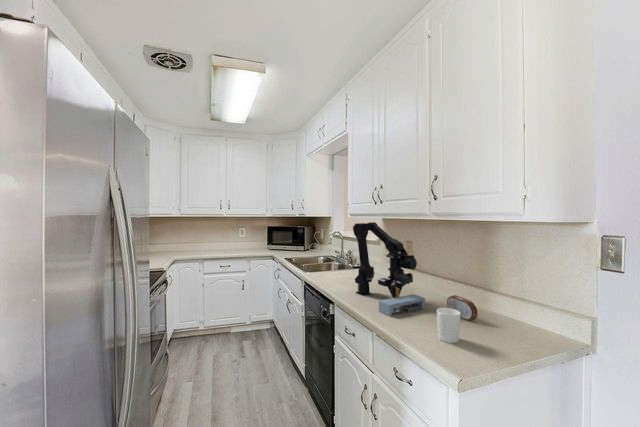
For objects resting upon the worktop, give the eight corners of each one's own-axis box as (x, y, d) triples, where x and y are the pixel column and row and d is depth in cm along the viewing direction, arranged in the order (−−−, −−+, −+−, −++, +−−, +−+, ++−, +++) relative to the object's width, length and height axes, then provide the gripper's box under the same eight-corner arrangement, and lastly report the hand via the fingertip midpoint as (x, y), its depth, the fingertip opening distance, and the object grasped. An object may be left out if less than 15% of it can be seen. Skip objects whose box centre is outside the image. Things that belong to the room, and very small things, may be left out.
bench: (378, 311, 133) (378, 300, 133) (413, 304, 144) (413, 294, 144) (389, 316, 127) (389, 304, 127) (424, 308, 138) (424, 297, 138)
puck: (389, 311, 134) (389, 308, 134) (395, 309, 136) (395, 306, 136) (395, 313, 131) (395, 310, 131) (402, 312, 133) (402, 309, 133)
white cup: (431, 336, 106) (431, 309, 106) (447, 333, 110) (447, 306, 110) (449, 345, 99) (449, 316, 99) (465, 341, 102) (465, 313, 102)
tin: (478, 322, 120) (478, 302, 120) (472, 323, 119) (472, 303, 119) (451, 311, 134) (451, 292, 134) (445, 311, 133) (445, 293, 133)
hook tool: (384, 302, 145) (384, 288, 145) (395, 300, 149) (395, 287, 149) (408, 312, 131) (408, 297, 131) (419, 310, 135) (419, 295, 135)
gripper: (392, 271, 135) (392, 304, 135) (421, 267, 144) (421, 298, 144) (377, 267, 145) (377, 298, 145) (404, 264, 154) (404, 293, 154)
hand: (395, 297), depth 147 cm, fingers closed on hook tool, 2 cm apart
